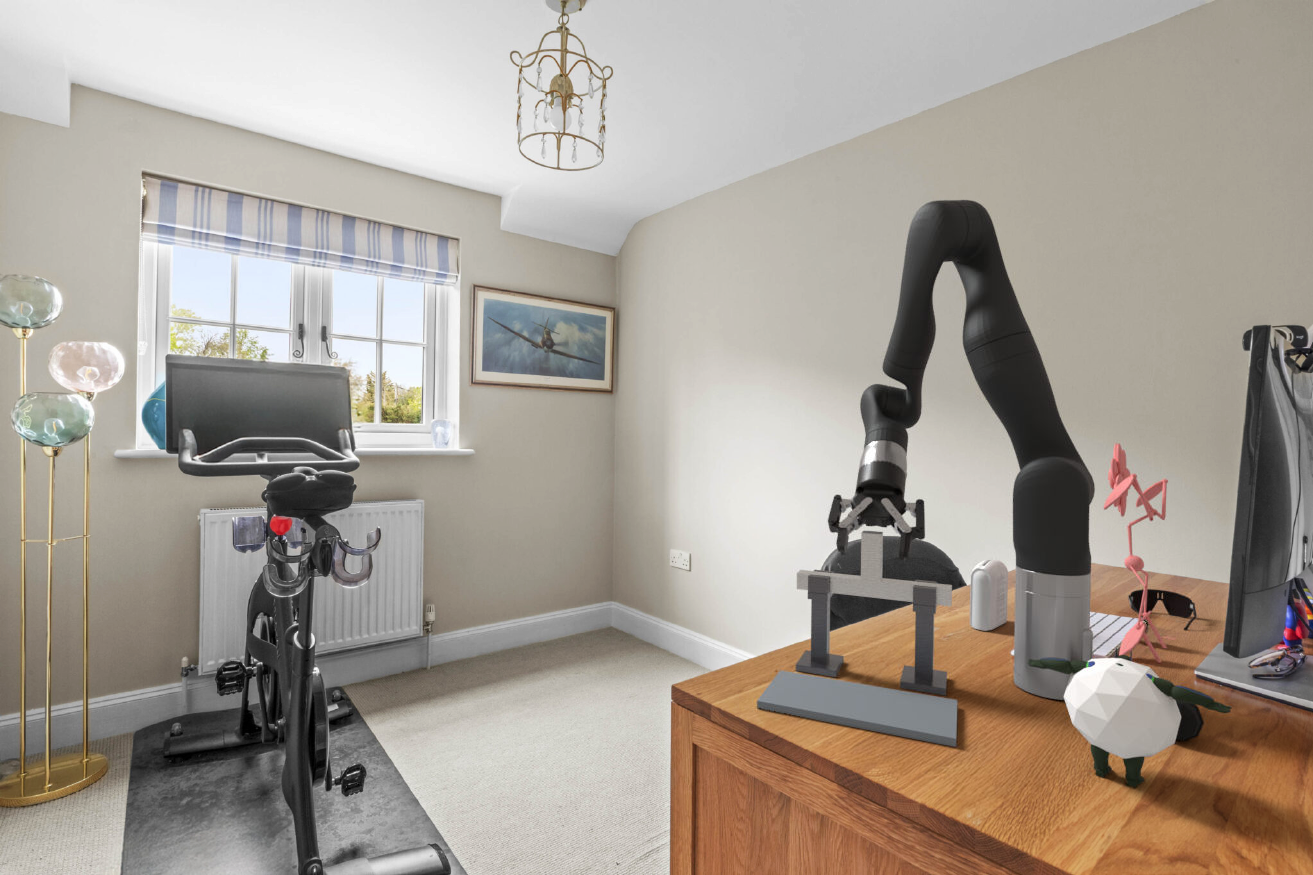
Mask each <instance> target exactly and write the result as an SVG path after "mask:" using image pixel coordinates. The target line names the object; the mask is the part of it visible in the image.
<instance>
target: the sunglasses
mask: <svg viewBox="0 0 1313 875" xmlns="http://www.w3.org/2000/svg"><path fill="white" fill-rule="evenodd" d="M1143 591H1144V588H1142V589H1137V590H1134V591H1132V592H1131V593H1130V594H1129V595H1128V603H1129V606H1130V608H1131V610H1133V611H1134V612H1136V613H1137V614H1138V615H1139V612H1140V607H1141V602H1142V596H1143ZM1158 601H1161V602H1162V604H1163V606H1164V608H1165V611H1166V612H1167V613H1168V615H1170V616H1171V617H1177V618H1182V619H1187V618H1190V617H1191V616H1192V614H1193V617H1192V618H1191V619H1190V620H1189V621H1188V623H1187V624H1186V626H1184V628H1183V631H1188V629H1189V628H1190V625H1191V624H1192V623H1193V621H1195V620H1196V619H1197V616H1198V615H1197V609H1196V606H1195V605H1196V603H1195V602H1193V600H1192V599H1191V598H1190V597H1188V596H1186V595H1183V594H1181V593H1179V592H1178V593H1177V592H1175V591H1169V590H1165V589H1156V588H1155V589H1153V588H1148V589H1147V604H1146V612H1147V613H1148V612H1149V611H1151V612H1153V609H1154V608H1155V607H1156V605H1157V603H1158ZM1142 613H1144V606H1143V611H1142ZM1142 617H1143V616H1141V618H1142ZM1144 621H1145V622H1146V624H1147V626H1149V623H1148V621H1147V619H1145V620H1144ZM1144 621H1143V622H1144Z"/></svg>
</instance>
